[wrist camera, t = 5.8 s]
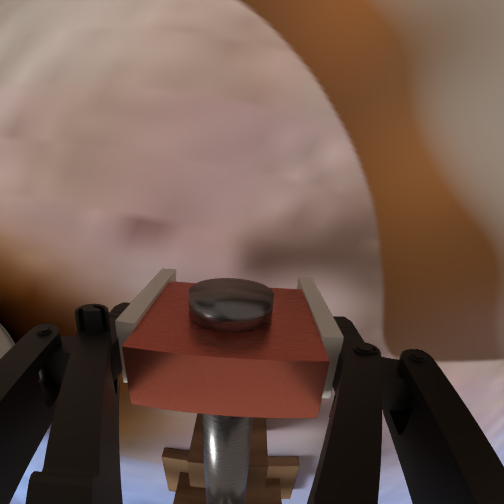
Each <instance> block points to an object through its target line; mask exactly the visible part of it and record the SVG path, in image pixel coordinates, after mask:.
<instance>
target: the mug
mask: <svg viewBox="0 0 504 504" xmlns="http://www.w3.org/2000/svg"><path fill="white" fill-rule="evenodd" d="M14 345H15V343H14V341H13V339H12V338H11V336H10V335H9V333H8V332H7V331H6V329H5V328H4V327H3V326H2V325H1V324H0V359H1V358H2V357H3V356H4V355H5V354H6V353H7V352H8V351H9V350H10V349H11V348H12V347H13V346H14Z"/></svg>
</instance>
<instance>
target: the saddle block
mask: <svg viewBox="0 0 504 504" xmlns="http://www.w3.org/2000/svg"><path fill="white" fill-rule="evenodd" d="M187 464H188V472H189V479H190V486H194V487H203V488H205V474H204V459H203V441H202V420H201V414H200V413H198V414H197V418H196V423H195V428H194V432H193V437H192V442H191V446H190V451H189V456H188V461H187ZM267 471H268V455H267V433H266V418H258V417H253V424H252V435H251V445H250V456H249V466H248V477H247V487H246V491H264V488H265V482H266V477H267Z"/></svg>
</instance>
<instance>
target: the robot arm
mask: <svg viewBox="0 0 504 504" xmlns="http://www.w3.org/2000/svg"><path fill="white" fill-rule="evenodd" d="M170 281H172V282H176V270H175V269H162V270H161V271H160V272H159V273H158V274H157V275H156V276H155V277H154V278H153V279H152V280H151V281H150V283H149V284H148V285H147V286H146V287H145V288H144V289H143V290H142V291H141V292H140V293H139V295H138V296H137V297H136V298H135V299H134V300H133V301H132V302H131V303H125V302H123V303H121V304H119V305H117V306H115V307H114V308H113V309H112V310H111V312H108V308H107V307H106V306H104V305H100V304H87V305H83V306H80V307H78V308H77V309H76V310H75V317H76V323H77V329H78V332H77V335H76V336H60V331H59V327H57V326H56V325H53V324H47V323H44V324H39V325H38V326H35V327H33V328H32V329H30V330H29V331H28V332H27V333H26V334H25V335H24V336H23V337H22V338H21V339H20V340H19V341H18V342H17V343H16V344H15V345H14V346H13V347H12V348H11V349H10V350H9V351H8V352H7V353H6V354H5V355H4V356H3V357H2V358H1V359H0V504H9V503H10V501H11V499H12V497H13V495H14V493H15V491H16V489H17V487H18V485H19V483H20V481H21V479H22V477H23V475H24V473H25V471H26V469H27V467H28V465H29V463H30V461H31V459H32V457H33V455H34V454H35V452H36V450H37V448H38V446H39V444H40V442H41V441H42V439H43V437H44V435H45V433H46V432H47V430H48V428H49V426H50V424H51V423H52V425H51V430H50V434H49V439H48V444H47V450H46V455H45V461H44V467H43V470H42V472H38V471H34V472H33V473H32V474H31V476H30V479H29V484H28V490H27V497H26V504H123V502H122V490H121V476H120V455H119V382H118V376H119V374H120V373H121V371H122V375H123V381H124V382H125V383H128V382H127V376H126V370H125V364H124V357H123V350H122V346H123V344H124V343H125V341H126V340H127V339H128V337H129V336H130V334H131V333H132V332H133V330H134V329H135V328H136V326H137V325H138V324H139V322H140V321H141V319H142V318H143V317H144V315H145V314H146V313H147V311H148V310H149V308H150V307H151V306H152V304H153V303H154V302H155V300H156V299H157V298H158V296H159V295H160V294H161V292H162V291H163V290H164V288H165V287H166V286H167V284H168V283H169V282H170ZM297 289H302V292H303V294H304V297H305V299H306V302H307V304H308V307H309V309H310V312H311V314H312V317H313V319H314V322H315V324H316V327H317V329H318V332H319V335H320V337H321V340H322V342H323V345H324V347H325V350H326V352H327V355H328V358H329V360H330V363H329V368H328V373H327V377H326V382H325V386H324V391H323V395H322V398H330V396H331V392H332V388H334V391H335V397H334V400H333V404H332V408H331V412H330V415H329V417H330V418H329V423H328V427H327V431H326V435H325V440H324V444H323V448H322V452H321V455H320V459H319V463H318V467H317V470H316V474H315V478H314V481H313V485H312V488H311V491H310V495H309V498H308V501H307V504H378V493H379V481H380V466H381V445H382V410H383V414H384V417H385V420H386V423H387V425H388V428H389V431H390V434H391V437H392V440H393V443H394V446H395V449H396V452H397V455H398V458H399V461H400V464H401V467H402V470H403V473H404V477H405V480H406V483H407V486H408V490H409V493H410V496H411V500H412V503H413V504H504V466H503V465H502V463H501V461H500V459H499V458H498V456H497V454H496V453H495V451H494V449H493V448H492V446H491V444H490V443H489V441H488V440H487V438H486V436H485V435H484V433H483V432H482V430H481V428H480V427H479V425H478V424H477V422H476V421H475V419H474V417H473V416H472V414H471V413H470V411H469V410H468V408H467V407H466V405H465V404H464V402H463V401H462V399H461V398H460V396H459V395H458V393H457V392H456V390H455V389H454V387H453V386H452V385H451V383H450V382H449V380H448V379H447V377H446V376H445V375H444V373H443V372H442V370H441V369H440V367H439V366H438V365H437V363H436V362H435V361H434V359H433V358H432V357H431V356H430V355H429V354H427V353H426V352H424V351H422V350H418V349H409V350H405V351H403V352H402V354H401V356H400V359H399V360H397V359H390V358H384V357H381V352H380V350H379V349H378V348H377V347H376V346H374V345H372V344H369V343H365V342H364V341H363V339H362V337H361V336H360V334H359V333H358V331H357V329H356V328H355V326H354V325H353V323H352V322H351V321H350V320H348V319H347V318H345V317H335V316H332V314H331V312H330V310H329V308H328V306H327V305H326V303H325V301H324V299H323V297H322V295H321V293H320V292H319V290H318V288H317V286H316V284H315V282H314V281H313V279H312V278H298V285H297ZM38 375H40V378H39V380H38Z"/></svg>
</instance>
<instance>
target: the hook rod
mask: <svg viewBox="0 0 504 504" xmlns="http://www.w3.org/2000/svg"><path fill="white" fill-rule="evenodd" d="M122 350H123V357H124V364H125V370H126V376H127V382H128V388H129V394H130V399H131V404H136V405H141V406H147V407H154V408H160V409H167V410H174V411H182V412H191V413H200V414H201V420H202V441H203V459H204V474H205V488H206V501H207V504H245V497H246V487H247V477H248V466H249V456H250V445H251V435H252V424H253V417H258V418H317V416H318V412H319V408H320V404H321V400H322V395H323V391H324V386H325V382H326V377H327V373H328V368H329V363H330V360H329V358H328V355H327V352H326V350H325V347H324V345H323V342H322V340H321V337H320V335H319V332H318V329H317V327H316V324H315V322H314V319H313V317H312V314H311V312H310V309H309V307H308V304H307V302H306V299H305V297H304V294H303V292H302V289H282V288H269V287H267V286H265V285H263V284H260V283H257V282H254V281H249V280H244V279H234V278H219V279H210V280H205V281H201V282H198V283H185V282H172V281H170V282H169V283H168V284H167V286H166V287H165V288H164V290H163V291H162V292H161V294H160V295H159V296H158V298H157V299H156V300H155V302H154V303H153V304H152V306H151V307H150V308H149V310H148V311H147V313H146V314H145V315H144V317H143V318H142V319H141V321H140V322H139V324H138V325H137V326H136V328H135V329H134V330H133V332H132V333H131V334H130V336H129V337H128V339H127V340H126V341H125V343H124V344H123V346H122Z"/></svg>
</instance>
